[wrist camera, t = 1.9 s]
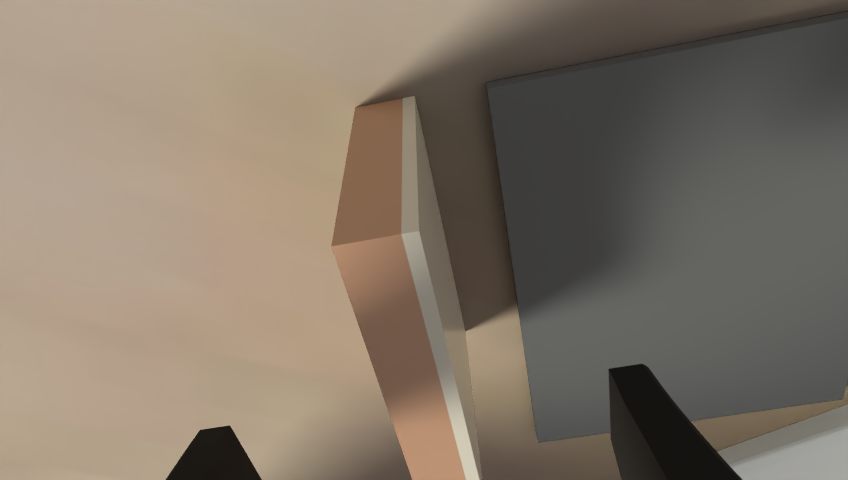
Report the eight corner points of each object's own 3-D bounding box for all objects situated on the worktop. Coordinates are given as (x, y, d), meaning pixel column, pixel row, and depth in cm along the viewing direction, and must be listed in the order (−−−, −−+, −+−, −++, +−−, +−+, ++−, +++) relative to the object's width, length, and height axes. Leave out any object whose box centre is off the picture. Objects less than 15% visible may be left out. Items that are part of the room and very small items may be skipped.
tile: (419, 337, 20) (423, 511, 15) (355, 106, 15) (331, 246, 10) (465, 330, 20) (485, 503, 15) (415, 95, 15) (419, 230, 10)
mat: (536, 433, 23) (538, 442, 22) (485, 82, 15) (487, 88, 15) (835, 390, 22) (842, 399, 21) (944, -8, 14) (957, -4, 14)
